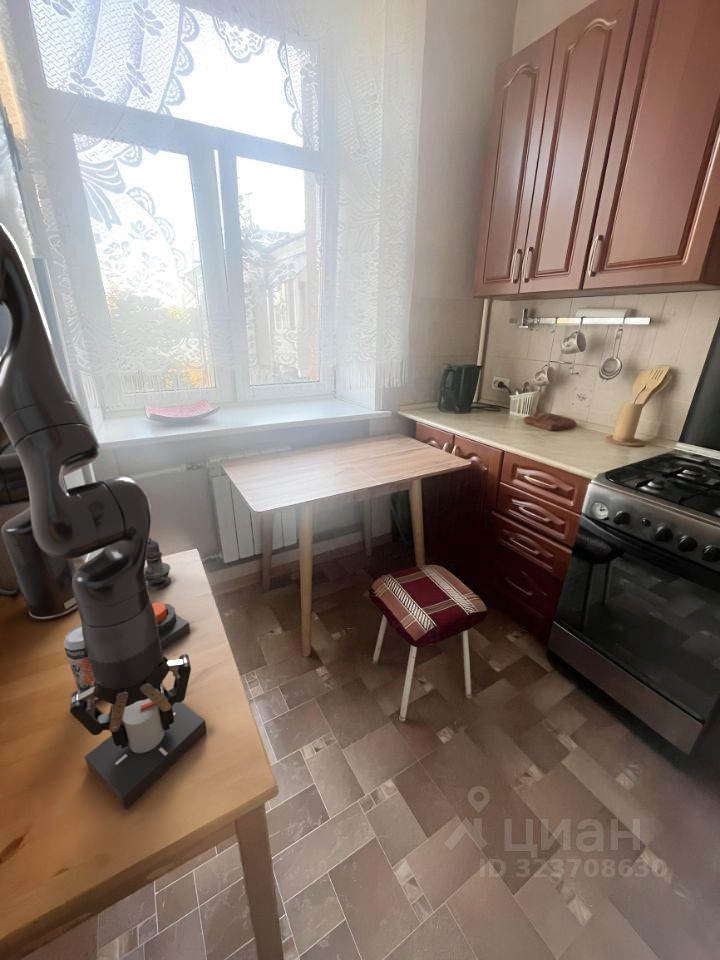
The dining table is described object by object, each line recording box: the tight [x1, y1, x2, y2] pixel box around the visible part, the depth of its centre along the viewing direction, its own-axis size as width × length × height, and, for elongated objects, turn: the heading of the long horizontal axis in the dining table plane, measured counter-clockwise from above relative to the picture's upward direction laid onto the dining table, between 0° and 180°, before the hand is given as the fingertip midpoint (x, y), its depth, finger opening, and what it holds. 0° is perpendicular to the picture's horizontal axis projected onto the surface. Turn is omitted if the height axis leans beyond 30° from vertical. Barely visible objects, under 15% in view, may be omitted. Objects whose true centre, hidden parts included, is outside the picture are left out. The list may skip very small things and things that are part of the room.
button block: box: [157, 603, 191, 652], centre depth 75 cm, size 10×7×4 cm
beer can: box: [63, 624, 99, 701], centre depth 62 cm, size 5×5×12 cm
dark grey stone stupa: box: [144, 537, 172, 591], centre depth 88 cm, size 6×6×12 cm
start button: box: [152, 602, 167, 623], centre depth 74 cm, size 4×4×2 cm
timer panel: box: [84, 701, 208, 811], centre depth 55 cm, size 9×12×3 cm
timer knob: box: [122, 699, 165, 753], centre depth 53 cm, size 4×4×6 cm
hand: (146, 732), depth 54 cm, fingers closed on timer knob, 4 cm apart
